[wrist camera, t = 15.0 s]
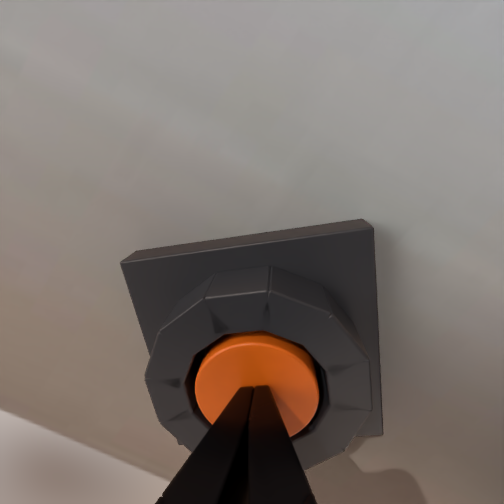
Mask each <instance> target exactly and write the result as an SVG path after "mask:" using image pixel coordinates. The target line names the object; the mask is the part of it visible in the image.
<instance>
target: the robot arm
mask: <svg viewBox="0 0 504 504" xmlns="http://www.w3.org/2000/svg"><path fill="white" fill-rule="evenodd" d="M162 496H163V497H159V499H158V501H157V502H156V503H155V504H317V502H316V500H315V497H314V495H313V494H312V490H311V488H310V485H309V483H308V480H307V478H306V475H305V473H304V471H303V468H302V466H301V463H300V461H299V458H298V456H297V453H296V451H295V448H294V446H293V444H292V441H291V439H290V436H289V434H288V431H287V429H286V426H285V424H284V422H283V419H282V417H281V414H280V412H279V409H278V407H277V404H276V402H275V400H274V397H273V395H272V392H271V390H270V387H269V386H268V385H258V386H255V387H253V386H245V387H240V388H239V389H238V390H237V392H236V393H235V394H234V396H233V397H232V399H231V400H230V401H229V403H228V404H227V405H226V407H225V408H224V410H223V411H222V412H221V414H220V415H219V416H218V418H217V419H216V421H215V422H214V423H213V425H212V426H211V427H210V429H209V430H208V432H207V433H206V434H205V436H204V437H203V438H202V440H201V441H200V443H199V444H198V445H197V447H196V448H195V449H194V451H193V452H192V454H191V455H190V456H189V458H188V459H187V460H186V462H185V463H184V465H183V466H182V467H181V469H180V470H179V471H178V473H177V474H176V476H175V477H174V478H173V480H172V481H171V482H170V484H169V485H168V487H167V488H166V489H165V491H164V492H163V494H162Z"/></svg>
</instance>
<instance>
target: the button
mask: <svg viewBox="0 0 504 504" xmlns="http://www.w3.org/2000/svg"><path fill="white" fill-rule="evenodd" d="M258 385H268V386H269V387H270V390H271V392H272V395H273V397H274V400H275V402H276V404H277V407H278V409H279V412H280V414H281V417H282V419H283V422H284V424H285V426H286V429H287V431H288V434H289V436H290V437H291V436H293V435H295V434H296V433H298V432H300V431H301V430H302V429H303V428H305V427H306V425H307V424H308V423H309V422H310V421H311V419H312V418H313V416H314V414H315V412H316V410H317V406H318V403H319V388H318V382H317V376H316V370H315V364H314V358H313V356H312V355H311V354H310V353H309V352H308V350H307V349H306V348H305V347H304V346H303V345H301V344H299V343H296V342H293V341H291V340H288V339H285V338H283V337H280V336H277V335H275V334H272V333H269V332H266V331H253V332H243V333H233V334H224V335H223V336H221V337H220V338H218V339H217V340H216V341H214V342H213V343H211V344H210V345H208V346H207V349H206V352H205V354H204V357H203V360H202V363H201V365H200V368H199V371H198V373H197V377H196V381H195V394H196V399H197V403H198V405H199V408H200V410H201V411H202V413H203V414H204V416H205V417H206V419H207V420H208V421H209V422H210V423H211V424H212V425H213V423H214V422H215V421H216V419H217V418H218V416H219V415H220V414H221V412H222V411H223V410H224V408H225V407H226V405H227V404H228V403H229V401H230V400H231V399H232V397H233V396H234V394H235V393H236V392H237V390H238V389H239V388H240V387H245V386H253V387H255V386H258Z"/></svg>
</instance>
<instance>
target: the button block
mask: <svg viewBox="0 0 504 504" xmlns="http://www.w3.org/2000/svg"><path fill="white" fill-rule="evenodd" d="M120 265H121V268H122V271H123V274H124V277H125V280H126V283H127V286H128V289H129V293H130V296H131V299H132V302H133V305H134V308H135V311H136V314H137V317H138V321H139V324H140V327H141V330H142V333H143V336H144V339H145V342H146V345H147V348H148V352H149V355H150V359H149V362H148V366H147V369H146V372H145V382H146V385H147V388H148V391H149V394H150V397H151V400H152V403H153V406H154V409H155V411H156V414H157V417H158V420H159V422H160V423H161V425H162V426H163V427H165V428H166V429H167V430H168V431H169V432H170V433H171V434H172V435H173V436H174V437H175V438H177V441H178V444H179V445H184V446H185V447H186V448H187V449H189V450H190V451H191V452H193V451H194V449H195V448H196V447H197V445H198V444H199V443H200V441H201V440H202V438H203V437H204V436H205V434H206V433H207V432H208V430H209V429H210V427H211V426H212V424H211V423H210V422H209V421H208V420H207V419H206V417H205V416H204V414H203V413H202V411H201V410H200V408H199V405H198V403H197V399H196V394H195V381H196V377H197V373H198V371H199V368H200V365H201V363H202V360H203V357H204V354H205V352H206V349H207V346H208V345H210V344H211V343H213V342H214V341H216V340H217V339H218V338H220V337H221V336H223V335H224V334H233V333H243V332H253V331H266V332H269V333H272V334H275V335H277V336H280V337H283V338H285V339H288V340H291V341H293V342H296V343H299V344H301V345H303V346H304V347H305V348H306V349H307V350H308V352H309V353H310V354H311V355H312V356H313V358H314V364H315V370H316V376H317V382H318V388H319V403H318V406H317V410H316V412H315V414H314V416H313V418H312V419H311V421H310V422H309V423H308V424H307V425H306V427H305V428H303V429H302V430H301V431H300V432H298V433H296V434H295V435H293V436H291V437H290V439H291V441H292V444H293V446H294V448H295V451H296V453H297V456H298V458H299V461H300V463H301V466H302V468H303V471H304V470H307V469H309V468H311V467H313V466H315V465H317V464H319V463H321V462H323V461H325V460H327V459H329V458H332V457H334V456H336V455H338V454H340V453H342V452H344V451H345V449H347V447H348V446H349V444H350V443H351V441H352V440H353V438H354V437H355V436H374V435H383V418H382V397H381V375H380V353H379V332H378V310H377V288H376V267H375V245H374V228H373V227H372V226H371V225H370V224H369V223H367V222H366V221H365V220H364V219H357V220H350V221H343V222H336V223H329V224H322V225H315V226H308V227H301V228H294V229H287V230H280V231H273V232H266V233H259V234H252V235H245V236H238V237H231V238H224V239H217V240H210V241H202V242H195V243H188V244H181V245H174V246H167V247H160V248H153V249H146V250H139V251H135V252H134V253H133V254H131V255H130V256H128V257H127V258H125V259H124V260H122V261H121V262H120Z"/></svg>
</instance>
